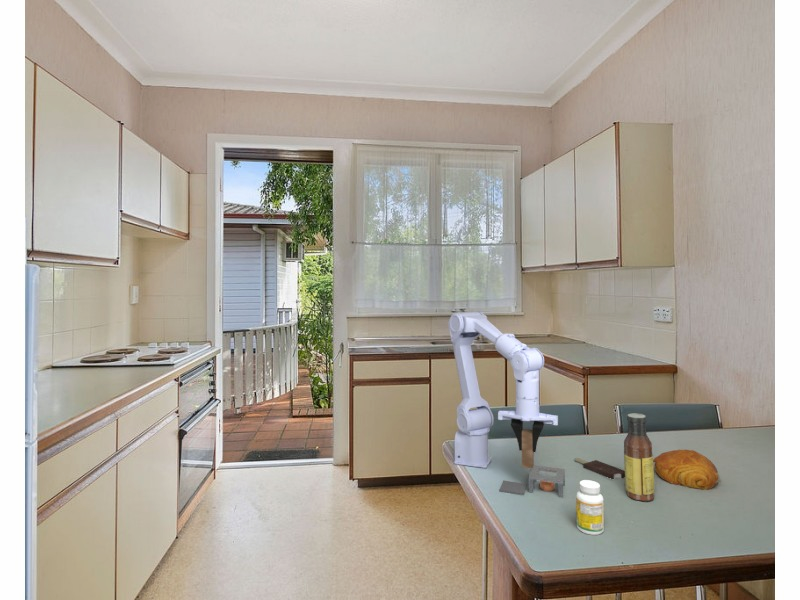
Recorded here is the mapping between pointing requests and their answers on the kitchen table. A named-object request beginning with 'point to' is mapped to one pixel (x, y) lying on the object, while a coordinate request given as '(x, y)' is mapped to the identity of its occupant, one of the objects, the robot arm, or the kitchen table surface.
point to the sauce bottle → (638, 460)
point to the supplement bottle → (590, 508)
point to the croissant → (686, 469)
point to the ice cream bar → (602, 468)
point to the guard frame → (559, 477)
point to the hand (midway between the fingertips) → (527, 449)
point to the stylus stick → (527, 448)
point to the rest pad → (513, 487)
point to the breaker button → (547, 485)
